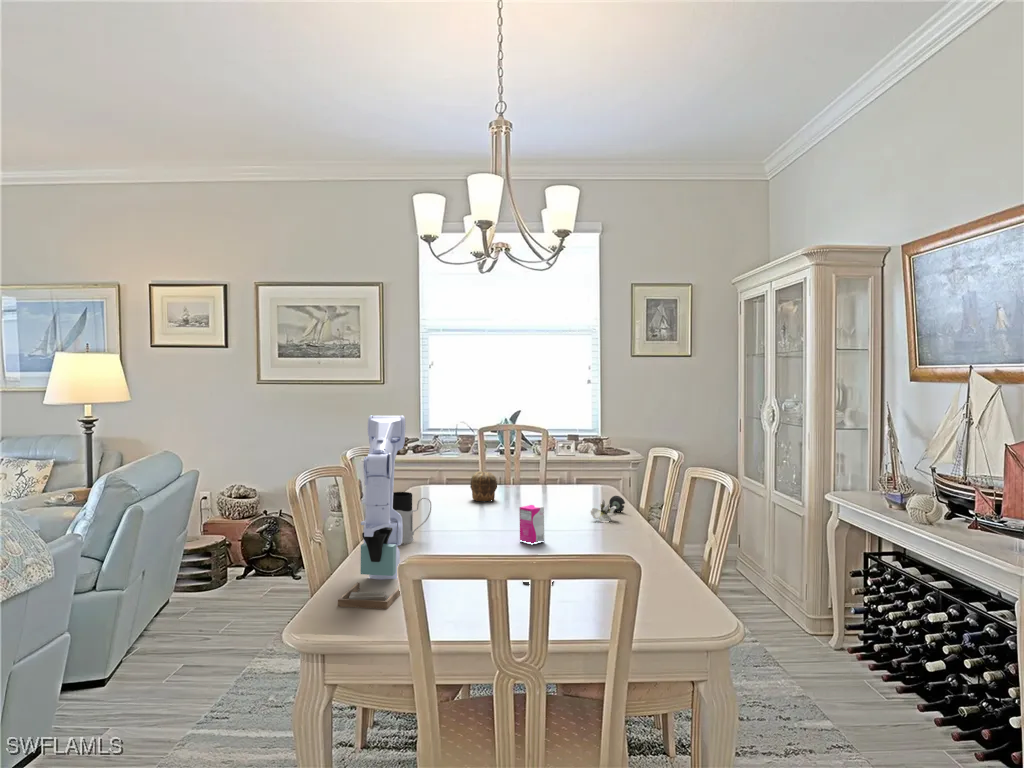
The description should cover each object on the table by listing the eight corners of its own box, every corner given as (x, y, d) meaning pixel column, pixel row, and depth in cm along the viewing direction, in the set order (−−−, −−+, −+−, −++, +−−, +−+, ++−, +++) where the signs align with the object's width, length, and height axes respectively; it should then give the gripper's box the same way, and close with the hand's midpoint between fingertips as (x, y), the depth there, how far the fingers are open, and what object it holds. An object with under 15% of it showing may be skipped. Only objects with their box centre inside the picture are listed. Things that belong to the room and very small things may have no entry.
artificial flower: (629, 516, 292) (635, 492, 289) (604, 534, 273) (610, 509, 270) (608, 507, 296) (613, 484, 293) (582, 525, 277) (587, 500, 275)
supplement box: (531, 539, 247) (531, 504, 247) (544, 542, 243) (545, 506, 242) (518, 542, 243) (519, 506, 243) (532, 545, 239) (532, 509, 238)
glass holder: (387, 537, 248) (387, 491, 247) (431, 537, 249) (431, 491, 248) (385, 544, 239) (385, 496, 238) (431, 543, 240) (431, 496, 240)
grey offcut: (351, 600, 178) (351, 592, 178) (386, 600, 179) (386, 591, 179) (349, 605, 175) (349, 597, 175) (384, 605, 175) (384, 596, 175)
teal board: (363, 571, 186) (364, 542, 186) (395, 572, 185) (395, 544, 185) (360, 574, 184) (360, 545, 184) (392, 575, 183) (393, 546, 183)
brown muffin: (467, 502, 309) (467, 473, 309) (473, 497, 320) (473, 469, 320) (494, 503, 307) (494, 474, 307) (499, 498, 318) (499, 470, 318)
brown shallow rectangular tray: (357, 594, 188) (357, 582, 188) (403, 596, 186) (403, 584, 186) (337, 612, 175) (337, 599, 174) (387, 615, 173) (387, 601, 173)
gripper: (371, 497, 192) (370, 551, 192) (351, 509, 178) (351, 567, 178) (398, 498, 191) (398, 552, 191) (380, 510, 177) (380, 568, 177)
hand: (377, 559), depth 185 cm, fingers closed on teal board, 2 cm apart
